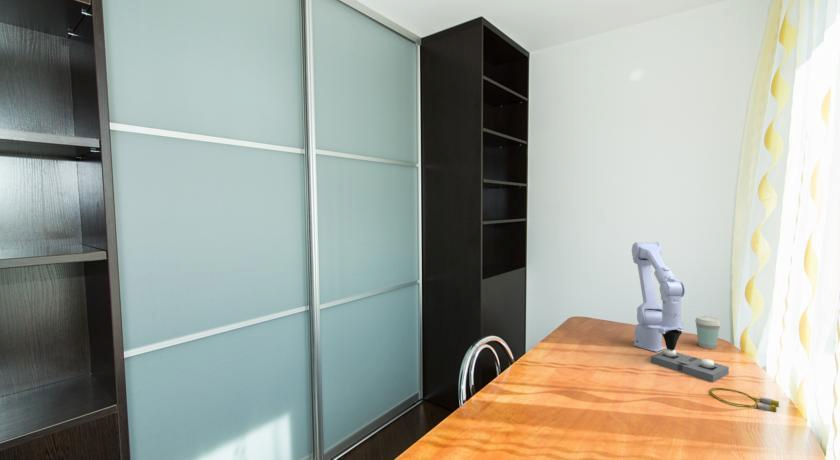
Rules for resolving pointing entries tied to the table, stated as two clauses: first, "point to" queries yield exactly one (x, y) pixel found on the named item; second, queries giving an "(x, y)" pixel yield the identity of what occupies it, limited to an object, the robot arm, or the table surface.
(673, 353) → the button
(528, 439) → the table surface
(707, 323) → the coffee cup
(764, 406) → the extension cord
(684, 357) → the slider tab
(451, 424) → the table surface
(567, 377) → the table surface
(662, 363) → the switch panel
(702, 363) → the button
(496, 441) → the table surface
